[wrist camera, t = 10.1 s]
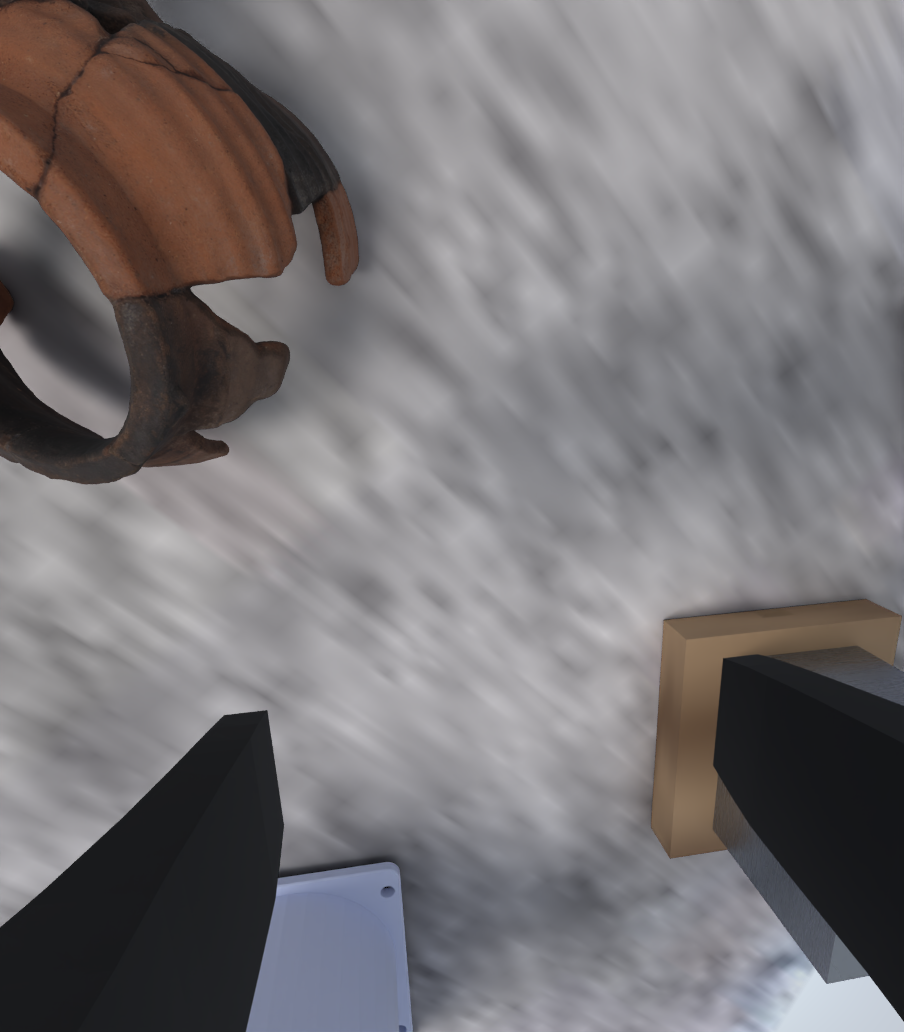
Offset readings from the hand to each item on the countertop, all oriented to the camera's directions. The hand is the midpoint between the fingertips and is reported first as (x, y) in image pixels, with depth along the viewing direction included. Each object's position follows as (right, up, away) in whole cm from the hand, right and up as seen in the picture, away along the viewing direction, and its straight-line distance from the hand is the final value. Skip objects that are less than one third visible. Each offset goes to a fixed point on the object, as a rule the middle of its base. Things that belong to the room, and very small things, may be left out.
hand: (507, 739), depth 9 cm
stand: (+11, -4, +13) cm, 17 cm away
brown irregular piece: (-9, +11, +6) cm, 16 cm away
